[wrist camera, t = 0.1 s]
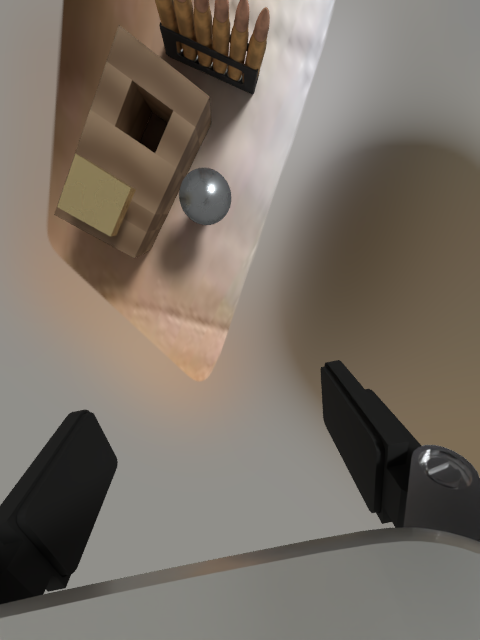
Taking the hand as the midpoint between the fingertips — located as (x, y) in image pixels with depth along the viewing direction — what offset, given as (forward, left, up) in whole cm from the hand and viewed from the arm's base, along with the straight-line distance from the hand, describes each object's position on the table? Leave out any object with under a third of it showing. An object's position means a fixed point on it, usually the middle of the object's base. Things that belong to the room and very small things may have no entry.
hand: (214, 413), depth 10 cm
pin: (-7, -5, -31) cm, 32 cm away
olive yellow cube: (-2, -14, -23) cm, 27 cm away
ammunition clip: (-20, -12, -31) cm, 39 cm away
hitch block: (-6, -14, -31) cm, 35 cm away
